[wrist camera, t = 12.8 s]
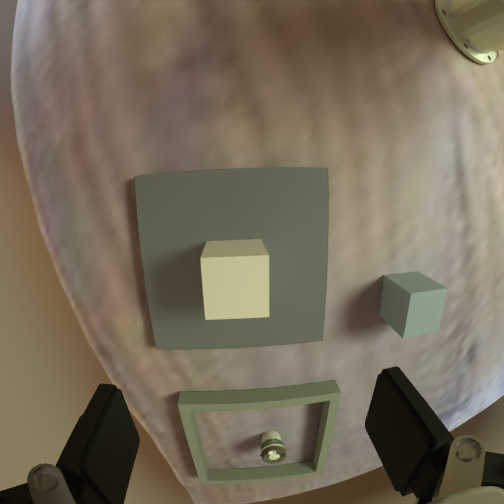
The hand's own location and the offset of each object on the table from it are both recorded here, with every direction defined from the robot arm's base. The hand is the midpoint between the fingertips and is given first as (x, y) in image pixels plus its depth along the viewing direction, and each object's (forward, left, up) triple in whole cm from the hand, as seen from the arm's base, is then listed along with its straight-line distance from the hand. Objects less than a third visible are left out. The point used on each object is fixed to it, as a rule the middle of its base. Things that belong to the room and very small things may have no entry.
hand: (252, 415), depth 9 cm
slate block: (-19, +5, -21) cm, 29 cm away
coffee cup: (-3, +26, -22) cm, 34 cm away
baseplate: (0, 0, -21) cm, 21 cm away
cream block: (0, 0, -19) cm, 19 cm away
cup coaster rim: (-2, +26, -21) cm, 34 cm away
